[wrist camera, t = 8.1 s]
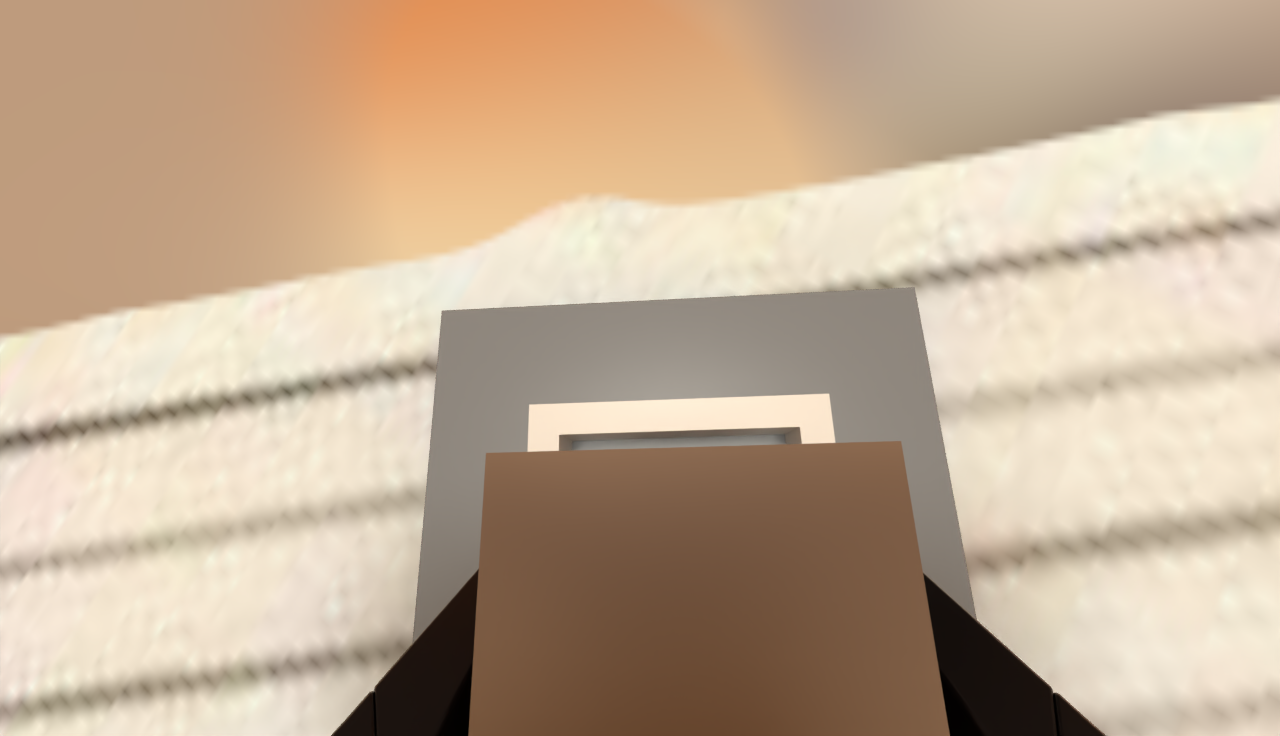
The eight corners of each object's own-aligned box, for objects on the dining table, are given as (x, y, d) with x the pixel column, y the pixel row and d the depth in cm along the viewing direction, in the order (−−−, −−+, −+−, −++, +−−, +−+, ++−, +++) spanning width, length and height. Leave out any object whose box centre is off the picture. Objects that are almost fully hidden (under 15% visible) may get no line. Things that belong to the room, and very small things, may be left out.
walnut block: (770, 646, 14) (994, 999, 4) (603, 646, 14) (453, 978, 5) (755, 473, 15) (900, 441, 6) (602, 477, 15) (485, 452, 6)
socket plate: (998, 862, 14) (1092, 969, 11) (413, 849, 15) (345, 943, 12) (899, 299, 18) (944, 262, 15) (455, 321, 20) (414, 289, 16)
